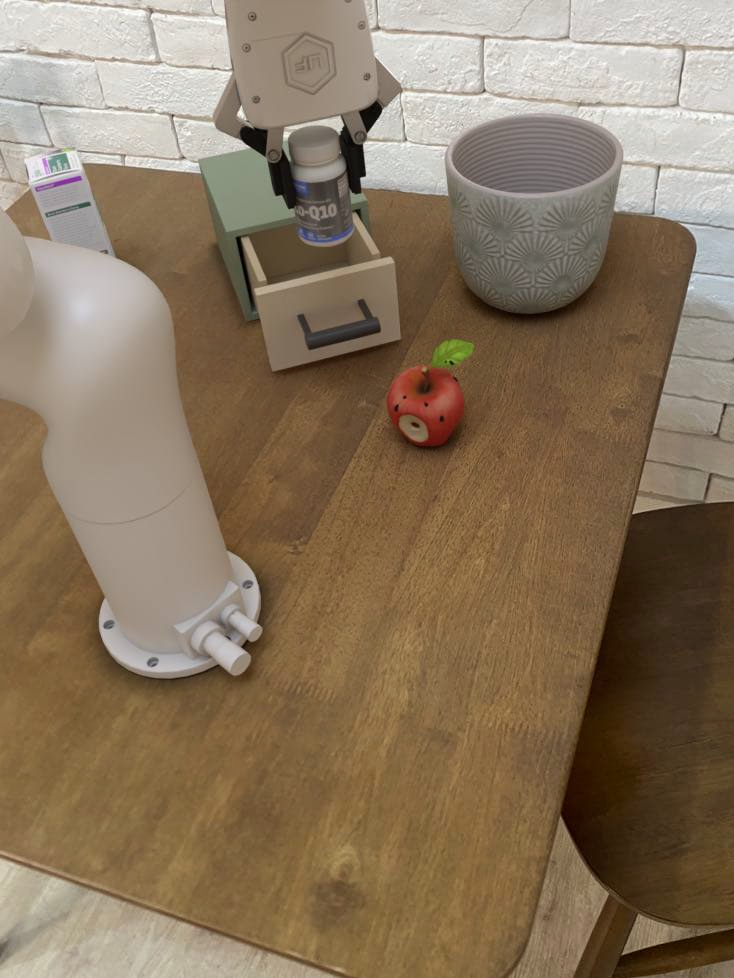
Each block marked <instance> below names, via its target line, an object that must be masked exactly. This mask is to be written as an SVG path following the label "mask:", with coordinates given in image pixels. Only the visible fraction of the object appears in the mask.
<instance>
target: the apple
mask: <svg viewBox="0 0 734 978" xmlns="http://www.w3.org/2000/svg"><path fill="white" fill-rule="evenodd" d="M474 346H475V343H473V342H469V341H465V340H462V339H456V338H452V339H451V340H445V341H443V342H441V343H440V344H439V346H437V347H436V348H435V350H434V352H433V355H432V359H431V364H429V365H428V364H423V365H422V364H421V365H416V366H412V367H409V368H407V369H405V370H404V371H402V372H401V373H400V374H399V375H397V377H396V378H395V379H394V381H393V382H392V384H391V385H390V387H389V390H388V393H387V397H386V408H387V412H388V416H389V418H390V420H391V422H392V424H393V425H394V427H395V428H396V429H397V430H398V431H399V433H401V434H402V435H403V436H404V437H405V438H406V439H407V440H408V441H409V442H411V444H414V445H416V446H419V447H439V446H441V445H443V444H444V443H446V442H447V441H448V439H449V438H450V437H451V435H452V433H453V432H454V430H455V428H456V427H457V426H458V425H459V423H460V421H461V420H462V418H463V416H464V412H465V409H466V401H465V396H464V392H463V390H462V388H461V385H460V383H459V379H458V378H457V377H456V376H454V375H453V374H452V373H451V372H450V371H449V370H447V369H445V368H451V367H455V366H459V365H460V364H462V362H463V361H466V360H467V359H468V358H469V357H470V356H471V355H472V353H473V351H474Z"/></svg>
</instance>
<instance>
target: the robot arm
mask: <svg viewBox="0 0 734 978" xmlns="http://www.w3.org/2000/svg"><path fill="white" fill-rule="evenodd" d="M223 3H224V5H223V6H224V17H225V27H226V28H225V29H226V35H227V43H228V50H229V57H230V65H231V71H232V72H231V74H230V77H229V79H228V81H227V83H226V85H225V88H224V90H223V92H222V94H221V96H220V98H219V100H218V102H217V104H216V107H215V109H214V111H213V113H212V122H213V125H214V127H215V128H216V130H218V131H220V133H223V134H226V135H228V136H229V137H231V138H233V139H236V140H239V141H242V143H243V144H245V146H247V147H249V148H252V149H254V150H255V151H257V152H258V153H260V154H261V155H263V156H264V157H266V158H267V162H268V167H269V172H270V178H271V183H272V188H273V191H274V194H275V196H280V195H282V197H283V199H284V201H285V203H286V205H287V208H288V210H289V209H293V208H295V206H297V204H296V198H295V192H294V186H293V180H292V174H291V168H290V163H289V160H288V158H287V156H286V154H285V152H284V150H283V148H282V145H283V141H284V133H285V128H289V127H293V126H294V127H295V126H299V125H304V124H308V123H313V122H318V121H322V120H326V119H327V120H328V119H332V118H336V117H340V119H341V121H342V124H343V126H342V128H341V130H340V131H339V133H340V134H338V136H339V143H340V153H341V154H342V155H343V156H344V158H345V160H346V163H347V172H348V180H349V188H350V190H351V192H352V193H355V195H356V194H361V193H362V192H363V191H362V190H363V189H362V182H361V181H362V180H361V178H367V169H366V160H365V150H364V144H365V143H366V142H367V140H368V133H370V131H371V129H372V128H373V127H374V125H375V124H376V122H377V121H378V120H379V118H380V117H381V115H382V113H383V110H384V109H386V108H387V107H388V106H389V105H390V104H391V103H392V102H393V100H395V98H396V97H397V96H398V95H399V94H400V93H401V91H402V85H401V83H400V81H399V80H398V78H397V77H396V76H395V75H394V74H393V73H392V72H391V71H390V69H389V68H388V67H387V66H386V65H385V64H384V63H383V62H382V61H381V60H380V58H379V57H377V56H376V54H375V50H374V44H373V37H372V31H371V24H370V18H369V13H368V8H367V3H366V0H223ZM241 108H242V111H243V114H244V116H245V118H246V119H243V118H241V117H240V116H238V113H239V111H240V109H241ZM115 257H116V256H115ZM115 257H112V256H109V255H107V254H104V253H101V252H98V251H94V250H90V249H87V248H83V247H78V246H74V245H69V244H64V243H59V242H54V241H51V240H49V239H45V238H39V237H34V236H27V235H23V234H22V233H21V231H20V230H19V228H18V227H17V225H16V223H15V222H14V220H13V219H12V218H11V217H10V216H9V214H8V213H7V212H6V211H5V210H4V208H2V206H0V399H1V400H3V401H4V400H5V401H8V402H10V403H11V402H12V403H14V404H17V405H21V406H23V407H26V408H28V409H30V410H32V411H33V412H35V413H36V414H37V415H38V416H39V417H41V419H42V420H43V421H44V423H45V426H46V428H47V433H46V435H45V438H44V441H43V444H42V448H41V463H42V468H43V471H44V475H45V478H46V480H47V483H48V485H49V487H50V489H51V492H52V494H53V495H54V498H55V499H56V501H57V503H58V505H59V506H60V508H61V510H62V512H63V514H64V517H65V519H66V520H67V523H68V525H69V527H70V529H71V531H72V533H73V535H74V537H75V539H76V541H77V544H78V545H79V547H80V549H81V551H82V553H83V555H84V557H85V559H86V561H87V563H88V565H89V567H90V569H91V572H92V573H93V576H94V578H95V580H96V582H97V583H98V586H99V587H100V590H101V591H102V594H103V596H104V597H103V600H102V603H101V606H100V610H99V615H98V630H99V631H98V632H99V634H100V637H101V639H102V643H103V644H104V647H105V648H106V651H108V653H109V655H110V656H111V658H113V659H114V661H115V662H116V663H117V664H118V665H120V666H122V667H123V668H124V669H126V670H127V671H130V672H131V673H135V674H137V675H140V676H142V677H147V678H152V679H177V678H184V677H185V678H186V677H190V676H193V675H196V674H200V673H203V672H205V671H207V670H209V669H212V668H214V667H215V666H218V665H219V666H220V667H221V668H223V669H224V670H225V671H226V672H227V673H228V674H230V675H231V676H233V677H237V676H240V675H241V674H243V673H244V672H245V671H246V670H247V669H248V668H249V666H250V664H251V661H252V656H251V654H250V653H249V652H248V651H246V650H245V649H244V648H243V647H242V646H243V645H244V644H245V643H246V641H248V642H250V643H254V642H256V641H257V640H259V638H260V637H261V635H262V634H263V626H261V625H260V624H258V621H259V618H260V613H261V611H262V595H261V590H260V585H259V584H258V583H259V582H258V580H257V577H256V574H255V572H254V571H253V570H252V569H251V567H250V566H249V564H248V563H246V562H245V560H243V559H242V558H241V557H240V556H238V555H236V554H235V553H233V552H231V551H229V550H228V549H227V546H226V543H225V540H224V537H223V534H222V531H221V527H220V525H219V521H218V518H217V515H216V512H215V508H214V505H213V502H212V498H211V495H210V493H209V490H208V485H207V483H206V479H205V477H204V473H203V470H202V467H201V464H200V461H199V457H198V454H197V451H196V449H195V445H194V442H193V440H192V436H191V433H190V430H189V426H188V422H187V419H186V415H185V412H184V408H183V403H182V399H181V394H180V387H179V381H178V372H177V371H178V370H177V357H176V355H177V354H176V339H175V329H174V322H173V317H172V313H171V310H170V306H169V303H168V301H167V299H166V298H165V296H164V294H163V293H162V291H161V289H160V288H159V287H158V286H157V285H156V284H155V282H154V281H153V280H152V279H151V278H150V277H148V276H147V274H145V273H144V272H143V271H141V270H140V269H138V268H137V267H136V266H133V265H132V264H129V262H126V261H124V260H122V259H119V258H117V257H116V258H115Z"/></svg>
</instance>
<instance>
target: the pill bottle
mask: <svg viewBox="0 0 734 978" xmlns="http://www.w3.org/2000/svg"><path fill="white" fill-rule="evenodd" d="M287 140H288V146H289V154H290V157H291V160H290V162H289V163H290V168H291V174H292V180H293V186H294V192H295V198H296V204H297V206H295V208H294V210H295V216H296V222H297V229H298V234H299V237H300V239H301V240H302V241H303V242H304V243H306V244H308V245H311V246H316V247H331V246H335V245H339V244H341V243H343V242H345V241H346V240H347V239H349V238H350V236H351V235H352V234H353V231H354V224H353V214H352V207H351V198H350V189H349V180H348V172H347V163H346V160H345V158H344V156H343V155H342V154H341V151H340V143H339V133H338V131H337V130H336V129H335V128H333V127H330V126H327V125H322V124H321V125H319V124H317V125H315V124H314V125H307V126H303V127H300V128H297V129H295V130H293V131H292V132H290V134H289V135H288V137H287Z"/></svg>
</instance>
